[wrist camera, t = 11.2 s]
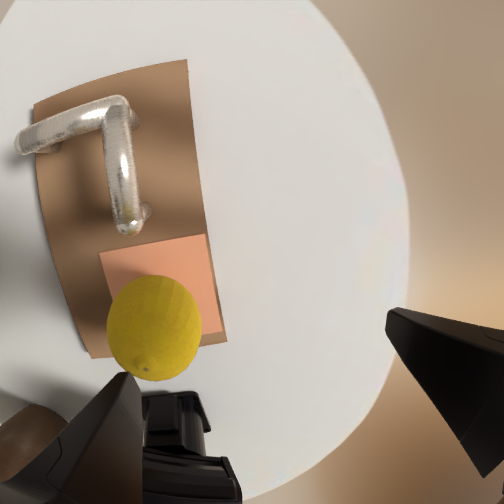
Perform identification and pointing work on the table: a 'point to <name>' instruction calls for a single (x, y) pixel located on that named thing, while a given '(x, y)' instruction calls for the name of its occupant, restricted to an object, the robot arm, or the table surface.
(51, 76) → the table surface
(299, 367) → the table surface
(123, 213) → the bent wire
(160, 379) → the lemon
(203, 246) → the terracotta tile
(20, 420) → the plant pot
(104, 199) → the walnut board
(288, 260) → the table surface
